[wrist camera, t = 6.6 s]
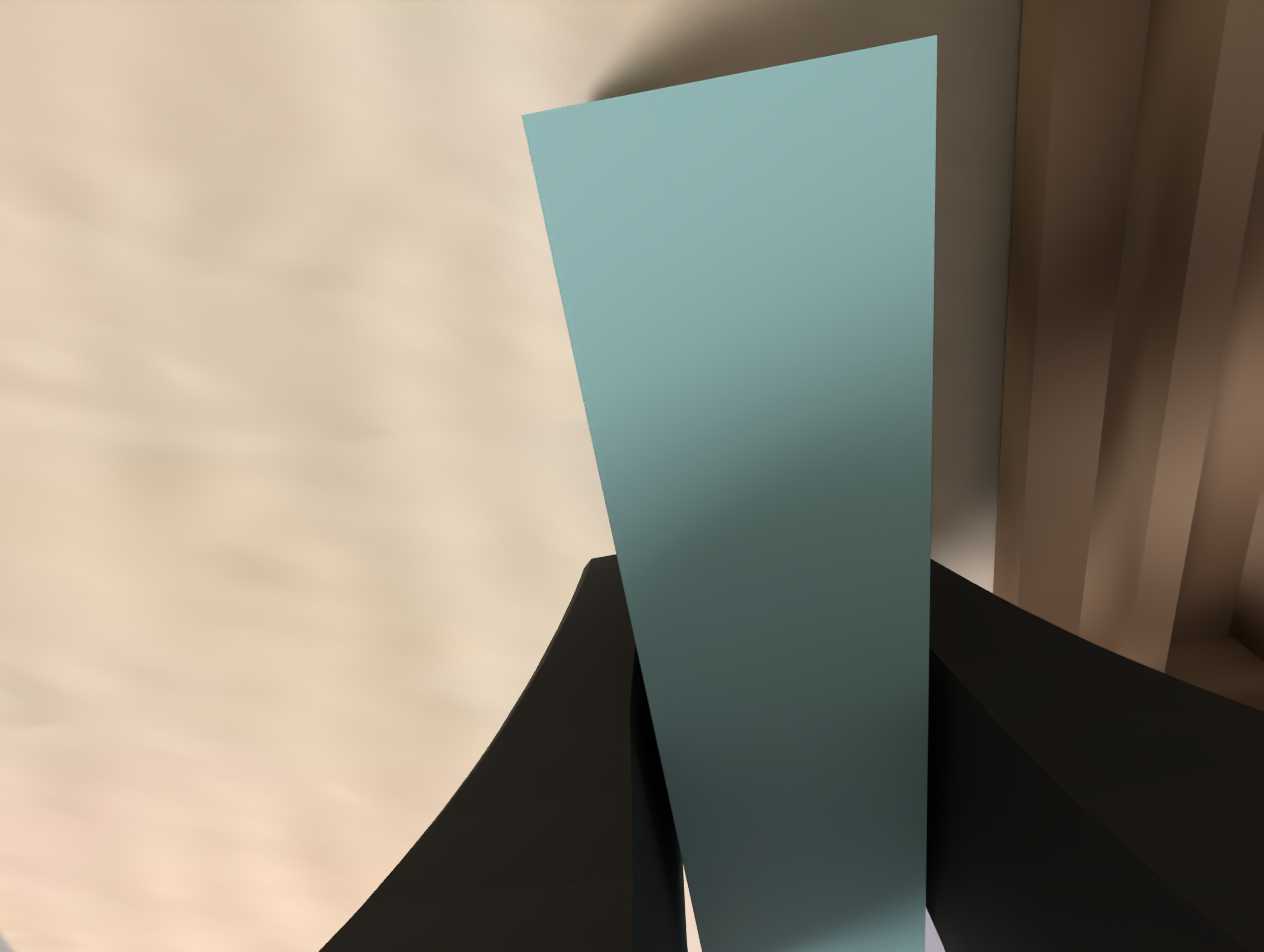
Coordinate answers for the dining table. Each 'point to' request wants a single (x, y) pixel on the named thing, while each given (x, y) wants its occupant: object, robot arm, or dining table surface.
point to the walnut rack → (1139, 335)
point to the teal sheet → (768, 467)
